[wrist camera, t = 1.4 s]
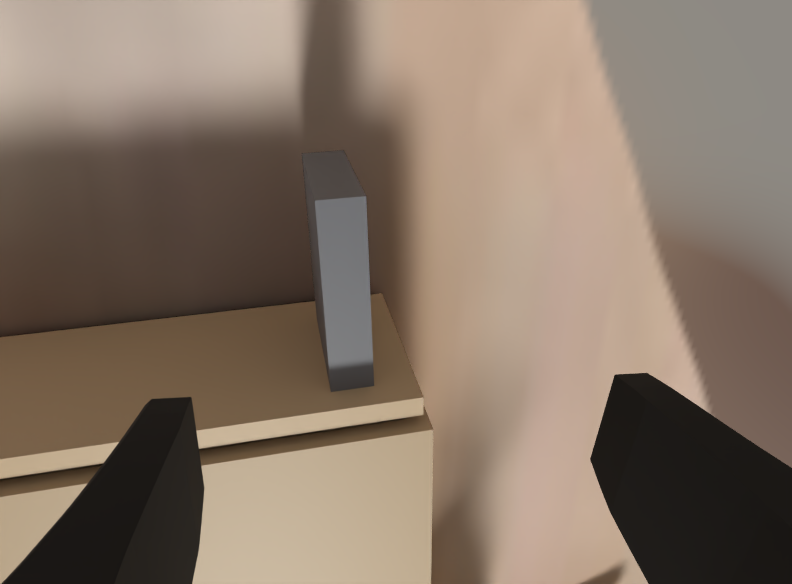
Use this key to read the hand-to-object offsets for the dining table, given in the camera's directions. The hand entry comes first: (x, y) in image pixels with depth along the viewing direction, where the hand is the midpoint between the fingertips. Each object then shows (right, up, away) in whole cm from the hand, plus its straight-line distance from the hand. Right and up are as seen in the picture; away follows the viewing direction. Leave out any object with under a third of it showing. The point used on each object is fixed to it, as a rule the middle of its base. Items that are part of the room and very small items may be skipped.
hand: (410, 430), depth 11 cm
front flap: (-8, +4, +9) cm, 13 cm away
